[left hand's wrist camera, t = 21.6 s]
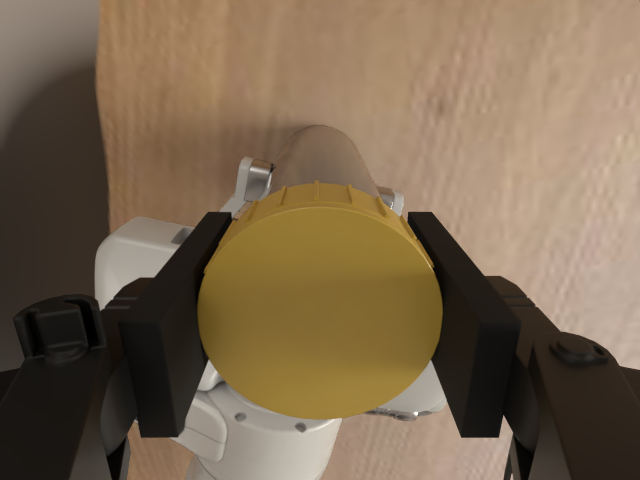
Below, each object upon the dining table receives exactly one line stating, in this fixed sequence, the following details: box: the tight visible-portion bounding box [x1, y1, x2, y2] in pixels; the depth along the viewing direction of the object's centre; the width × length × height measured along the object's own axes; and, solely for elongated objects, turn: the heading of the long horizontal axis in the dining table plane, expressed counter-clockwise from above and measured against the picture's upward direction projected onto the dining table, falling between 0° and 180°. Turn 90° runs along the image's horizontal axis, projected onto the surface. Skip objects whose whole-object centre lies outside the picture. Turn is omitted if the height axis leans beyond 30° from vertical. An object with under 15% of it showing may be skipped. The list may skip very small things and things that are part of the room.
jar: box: [257, 126, 385, 204], centre depth 19 cm, size 5×5×17 cm
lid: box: [197, 180, 443, 420], centre depth 11 cm, size 6×6×2 cm
